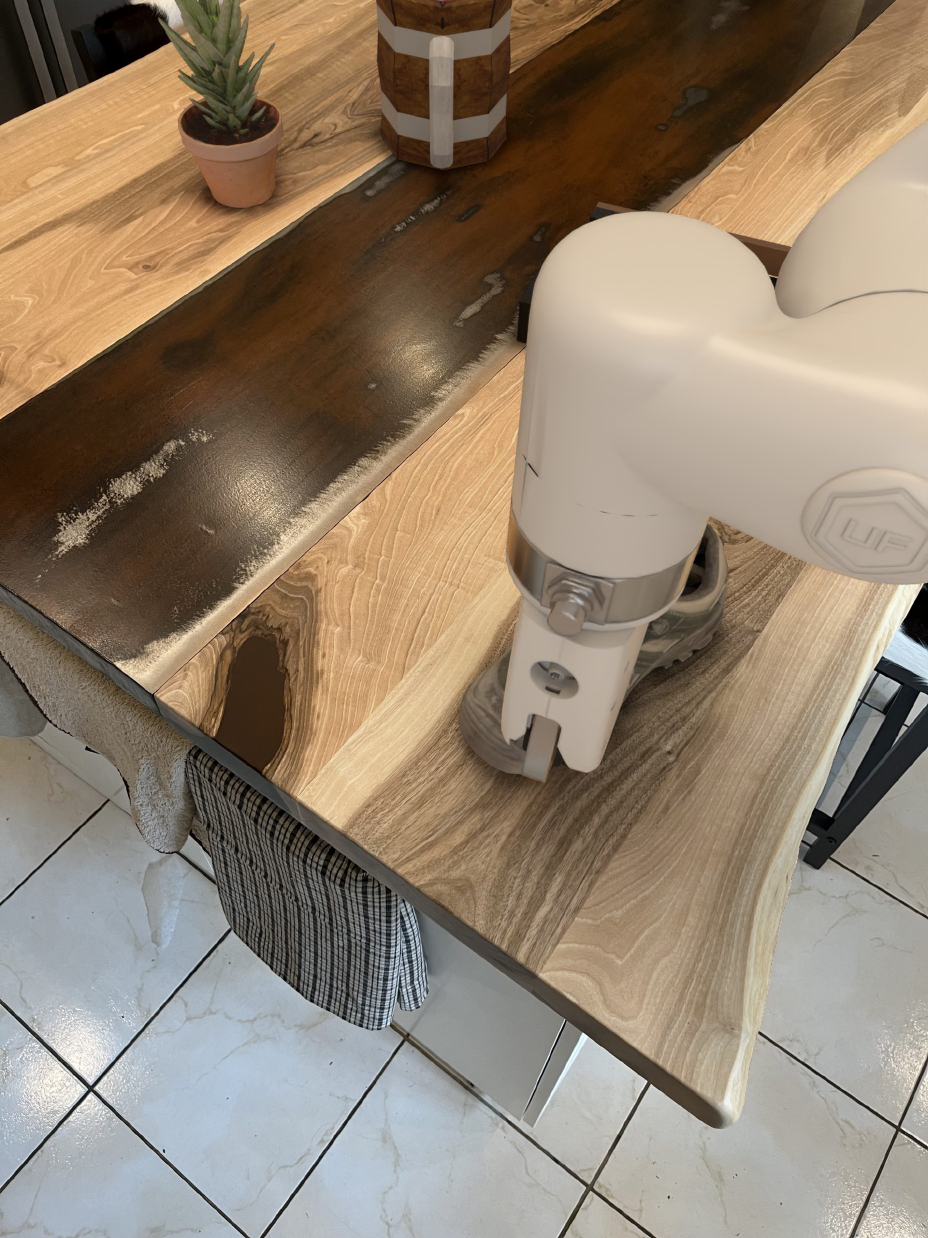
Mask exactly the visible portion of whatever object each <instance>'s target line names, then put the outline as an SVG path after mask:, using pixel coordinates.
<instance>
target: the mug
mask: <svg viewBox="0 0 928 1238" xmlns="http://www.w3.org/2000/svg"><path fill="white" fill-rule="evenodd" d="M375 2H376V3H375V4H376V17H377V19H376V20H377V40H376V41H377V43H376V46H377V47H376V49H377V50H376V64H377V71H378V72H377V73H378V78H379V79H378V80H379V85H380V95H381V96H380V97H381V98H380V100H381V122H380V137H381V138H382V139H383V141H384V143H385V144H386V145H387V148H389V150H390V151H391V153H392V154H393V156H394V158H395V159H396V160H399V161H404V162H407V163H412V164H415V165H419V166H422V167H426V168H427V167H428V168H431V169H436V170H440V171H445V170H447V171H448V170H452V169H456V168H462V167H467V166H471V165H472V166H473V165H476V164H482V163H486V162H490V161H491V159H492V158H493V157H494V155H496V153H497V152H498V150H499V149H500V148H501V147H502V145H503V144H504V143H505V142H506V140H507V139H508V132H507V131H508V130H507V117H506V115H507V113H506V112H507V95H508V94H507V93H508V86H509V79H510V71H511V66H512V57H511V55H512V54H511V51H512V50H511V24H512V23H511V21H512V6H513V0H375Z"/></svg>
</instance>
